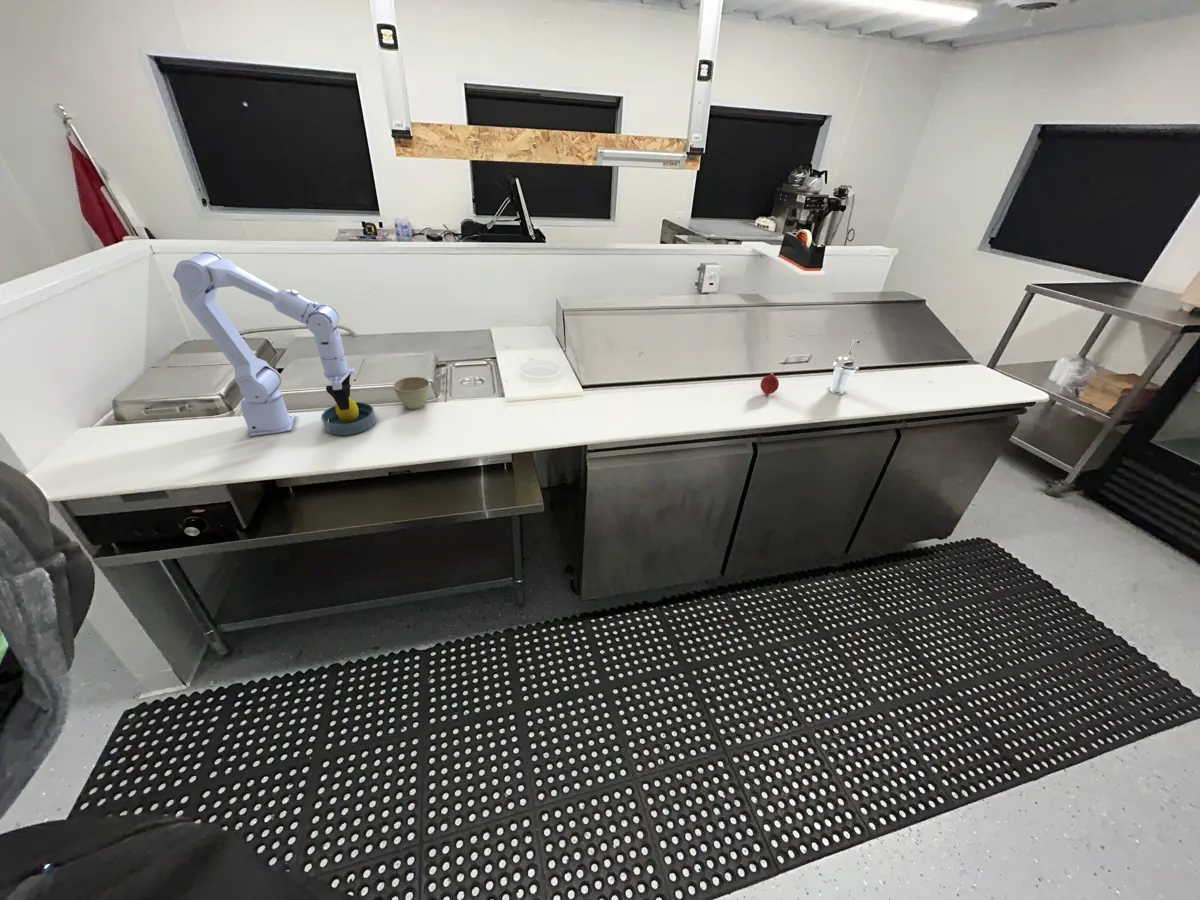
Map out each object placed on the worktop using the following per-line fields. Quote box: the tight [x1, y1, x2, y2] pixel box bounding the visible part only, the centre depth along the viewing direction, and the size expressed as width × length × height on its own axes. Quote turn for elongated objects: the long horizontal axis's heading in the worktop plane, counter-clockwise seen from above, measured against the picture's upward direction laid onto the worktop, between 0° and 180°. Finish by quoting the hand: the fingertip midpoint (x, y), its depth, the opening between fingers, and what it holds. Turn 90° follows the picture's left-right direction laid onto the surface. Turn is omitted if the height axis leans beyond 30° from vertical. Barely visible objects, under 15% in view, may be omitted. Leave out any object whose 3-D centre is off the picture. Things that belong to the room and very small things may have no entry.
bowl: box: [320, 401, 377, 436], centre depth 134 cm, size 13×13×4 cm
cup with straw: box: [829, 338, 860, 395], centre depth 164 cm, size 8×9×20 cm
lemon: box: [335, 397, 359, 423], centre depth 132 cm, size 6×6×8 cm
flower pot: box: [392, 376, 431, 410], centre depth 144 cm, size 10×10×7 cm
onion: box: [759, 371, 780, 396], centre depth 162 cm, size 6×6×8 cm
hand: (345, 402), depth 131 cm, fingers open, 7 cm apart
